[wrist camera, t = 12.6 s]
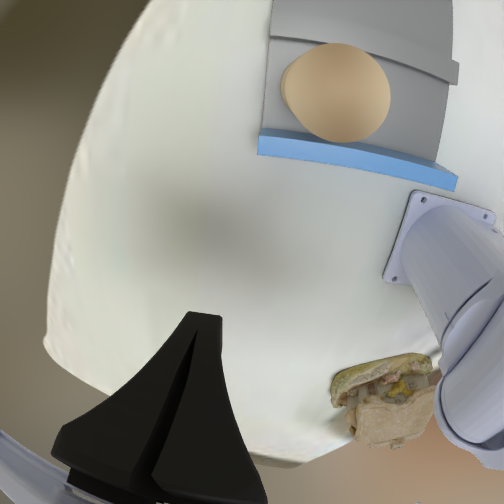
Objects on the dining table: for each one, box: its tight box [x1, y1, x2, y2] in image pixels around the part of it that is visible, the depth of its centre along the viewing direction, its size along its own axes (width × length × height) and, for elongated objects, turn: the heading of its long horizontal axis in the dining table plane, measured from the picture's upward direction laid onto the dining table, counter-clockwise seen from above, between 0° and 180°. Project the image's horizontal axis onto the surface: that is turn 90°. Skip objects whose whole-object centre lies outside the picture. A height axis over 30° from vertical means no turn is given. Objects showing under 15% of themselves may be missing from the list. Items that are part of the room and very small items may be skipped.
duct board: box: [257, 0, 459, 192], centre depth 11 cm, size 12×15×4 cm
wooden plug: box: [280, 43, 391, 143], centre depth 11 cm, size 4×4×6 cm
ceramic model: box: [331, 353, 436, 450], centre depth 26 cm, size 14×11×10 cm
